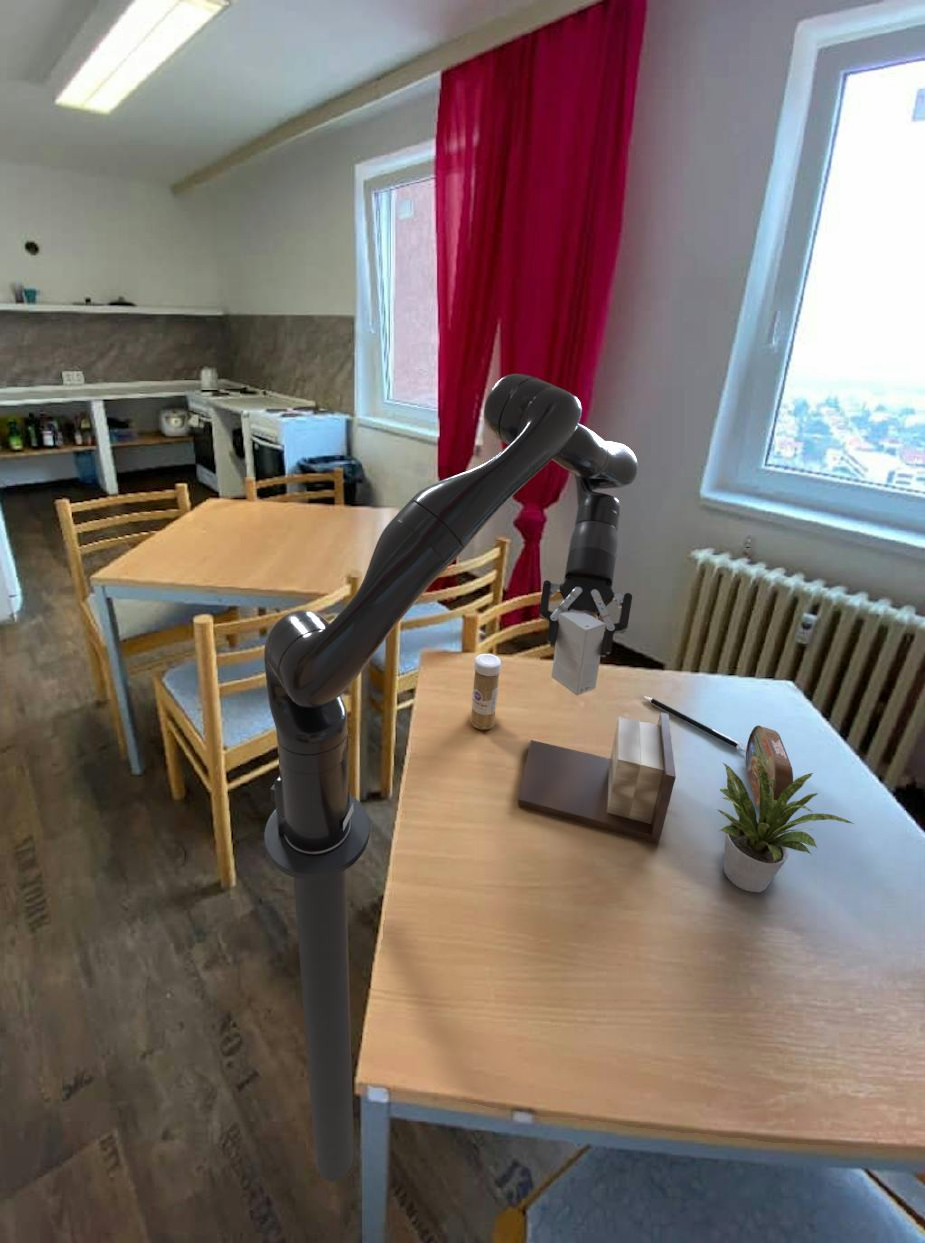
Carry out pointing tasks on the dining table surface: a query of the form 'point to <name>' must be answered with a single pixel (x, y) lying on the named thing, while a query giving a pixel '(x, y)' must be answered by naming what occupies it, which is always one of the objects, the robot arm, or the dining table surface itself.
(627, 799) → the book rack
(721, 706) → the dining table surface
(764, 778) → the house plant
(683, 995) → the dining table surface
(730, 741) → the pen
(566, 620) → the cosmetic box
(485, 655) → the sprinkles bottle
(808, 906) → the dining table surface
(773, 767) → the tin
